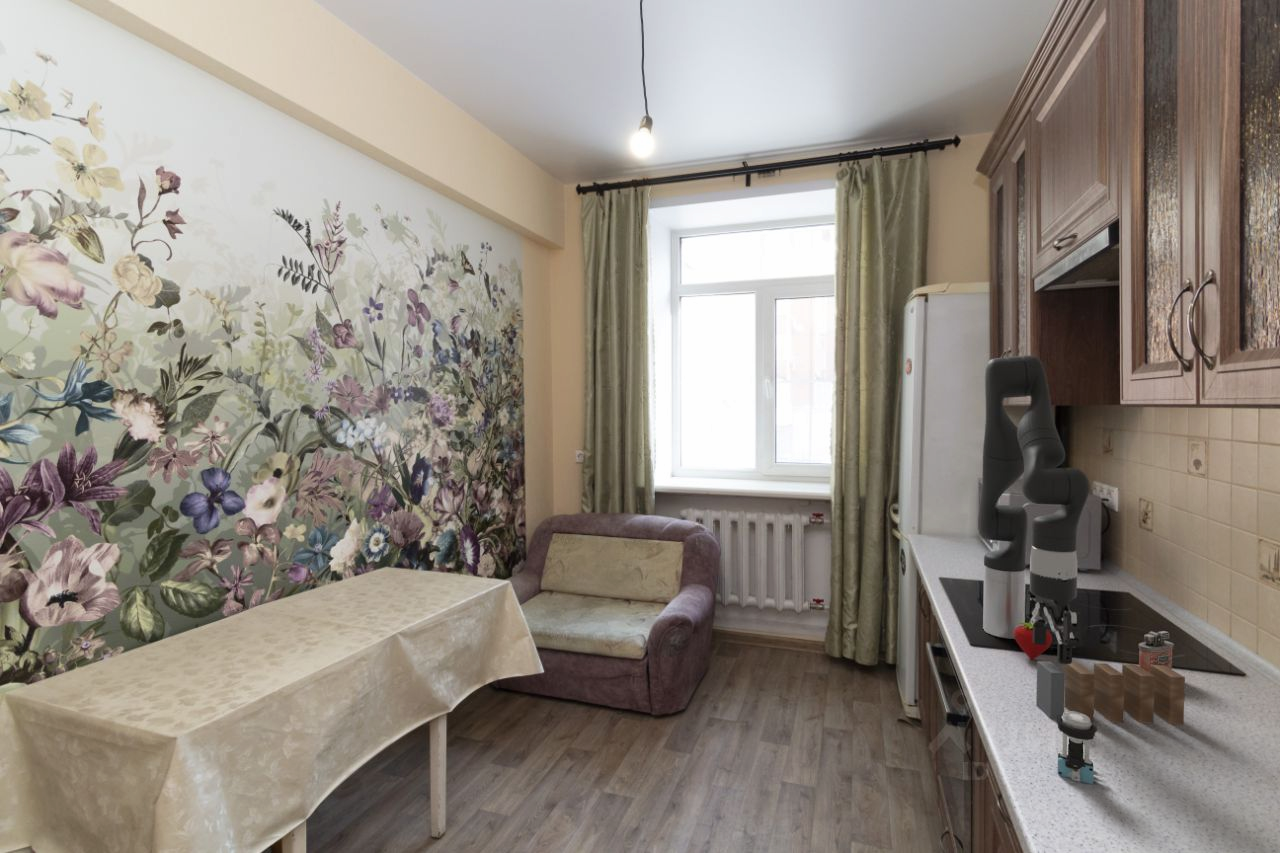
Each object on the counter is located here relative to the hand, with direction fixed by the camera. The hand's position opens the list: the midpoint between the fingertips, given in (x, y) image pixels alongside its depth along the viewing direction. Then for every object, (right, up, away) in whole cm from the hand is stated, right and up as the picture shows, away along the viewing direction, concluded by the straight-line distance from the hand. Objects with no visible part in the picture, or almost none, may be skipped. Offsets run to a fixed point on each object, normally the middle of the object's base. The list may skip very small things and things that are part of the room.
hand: (1051, 653), depth 117 cm
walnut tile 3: (+10, -12, -1) cm, 16 cm away
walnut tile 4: (+5, -12, 0) cm, 13 cm away
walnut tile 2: (+16, -12, -1) cm, 19 cm away
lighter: (+32, -11, +14) cm, 37 cm away
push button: (-9, -13, -20) cm, 25 cm away
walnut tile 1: (+21, -12, -2) cm, 24 cm away
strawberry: (+12, -11, +24) cm, 29 cm away
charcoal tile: (0, -12, 0) cm, 12 cm away
